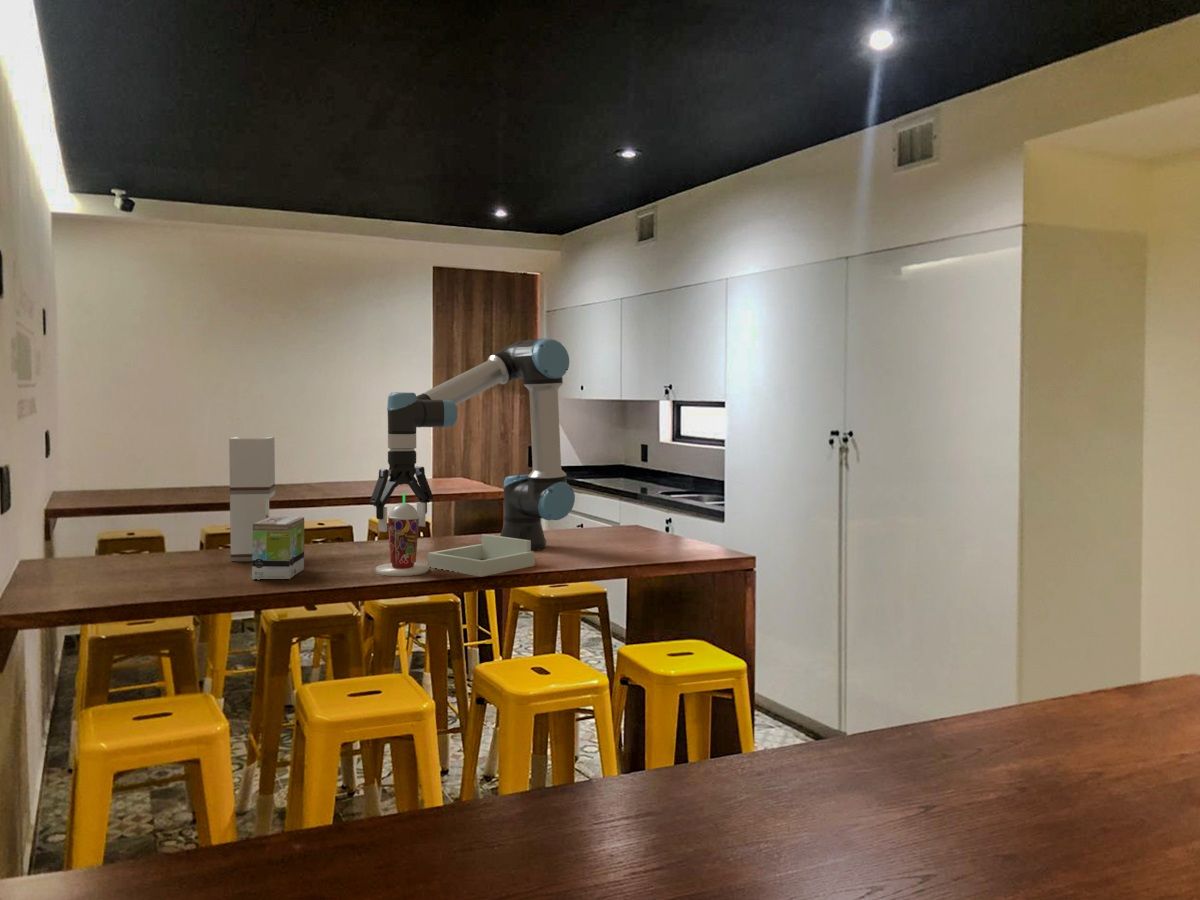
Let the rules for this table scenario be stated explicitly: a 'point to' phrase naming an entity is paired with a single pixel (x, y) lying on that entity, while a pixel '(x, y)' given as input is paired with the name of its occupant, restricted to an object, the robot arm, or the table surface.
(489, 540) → the shallow open tray
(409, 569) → the saucer
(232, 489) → the striped white pillar
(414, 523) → the smoothie
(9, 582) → the table surface
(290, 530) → the tea box
